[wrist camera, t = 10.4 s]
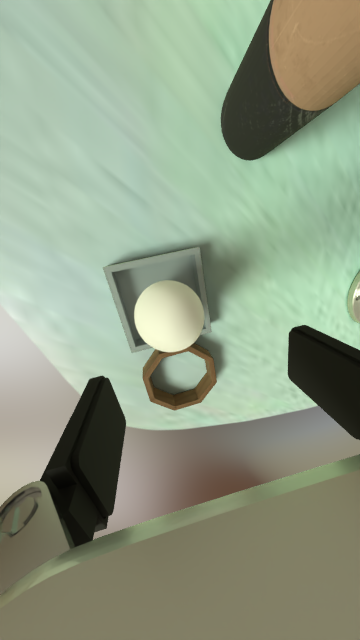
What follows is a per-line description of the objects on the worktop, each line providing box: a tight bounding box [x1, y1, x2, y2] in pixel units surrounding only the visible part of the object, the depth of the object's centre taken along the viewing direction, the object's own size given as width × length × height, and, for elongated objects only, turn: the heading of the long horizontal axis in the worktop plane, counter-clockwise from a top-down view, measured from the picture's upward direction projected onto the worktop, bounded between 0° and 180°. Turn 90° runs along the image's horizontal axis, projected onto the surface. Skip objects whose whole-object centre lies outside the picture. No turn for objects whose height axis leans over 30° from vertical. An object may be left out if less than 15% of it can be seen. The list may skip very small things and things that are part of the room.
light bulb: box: [134, 280, 204, 352], centre depth 19 cm, size 7×7×11 cm
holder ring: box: [143, 343, 217, 410], centre depth 28 cm, size 10×10×2 cm
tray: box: [103, 247, 212, 353], centre depth 24 cm, size 11×11×3 cm
